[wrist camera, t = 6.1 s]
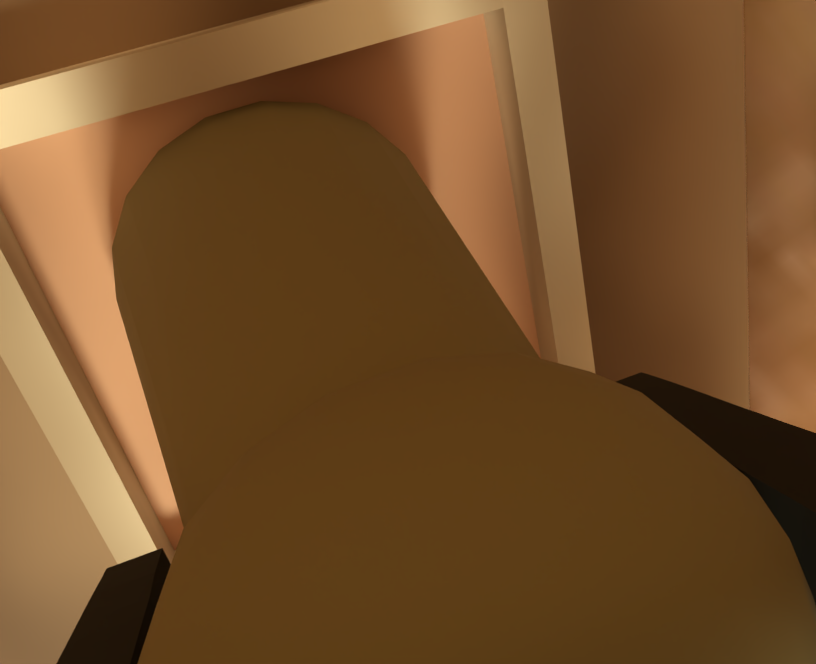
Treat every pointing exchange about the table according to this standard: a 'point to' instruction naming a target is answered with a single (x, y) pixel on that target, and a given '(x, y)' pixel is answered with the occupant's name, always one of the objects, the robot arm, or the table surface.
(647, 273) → the coaster board
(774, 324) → the table surface
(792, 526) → the robot arm
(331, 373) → the cork
